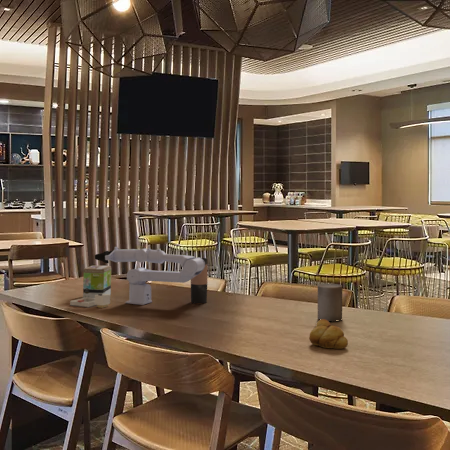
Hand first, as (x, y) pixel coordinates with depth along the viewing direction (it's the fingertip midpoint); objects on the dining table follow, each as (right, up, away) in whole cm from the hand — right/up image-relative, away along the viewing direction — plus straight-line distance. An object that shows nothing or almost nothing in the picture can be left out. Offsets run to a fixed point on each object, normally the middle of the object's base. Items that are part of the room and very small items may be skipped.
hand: (99, 255), depth 261 cm
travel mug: (+46, -21, -3) cm, 51 cm away
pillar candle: (+99, -23, -38) cm, 109 cm away
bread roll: (+91, -25, -79) cm, 123 cm away
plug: (+5, -21, -16) cm, 27 cm away
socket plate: (-3, -21, -11) cm, 24 cm away
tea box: (-3, -20, +6) cm, 21 cm away
